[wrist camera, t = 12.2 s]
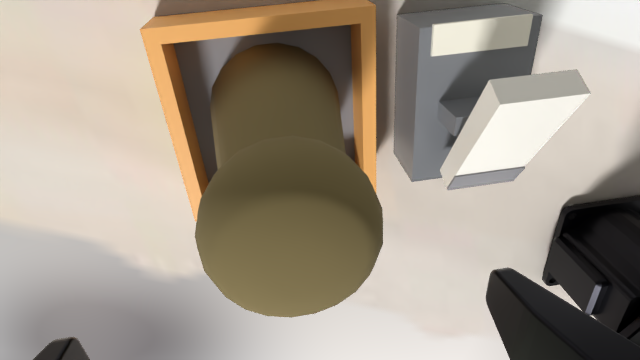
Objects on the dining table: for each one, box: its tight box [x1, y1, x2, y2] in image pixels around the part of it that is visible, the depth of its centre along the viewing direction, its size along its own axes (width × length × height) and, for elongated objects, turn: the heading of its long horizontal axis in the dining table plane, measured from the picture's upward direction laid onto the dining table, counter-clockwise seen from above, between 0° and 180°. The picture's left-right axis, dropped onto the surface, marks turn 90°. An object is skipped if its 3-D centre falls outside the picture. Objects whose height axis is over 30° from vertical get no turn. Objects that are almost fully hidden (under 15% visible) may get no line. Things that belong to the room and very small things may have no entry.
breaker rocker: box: [440, 69, 591, 190], centre depth 16 cm, size 3×6×1 cm, turn 4°
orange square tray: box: [140, 0, 376, 221], centre depth 19 cm, size 9×9×2 cm
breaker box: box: [394, 3, 543, 182], centre depth 19 cm, size 5×7×5 cm
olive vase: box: [195, 43, 383, 317], centre depth 15 cm, size 6×6×11 cm
